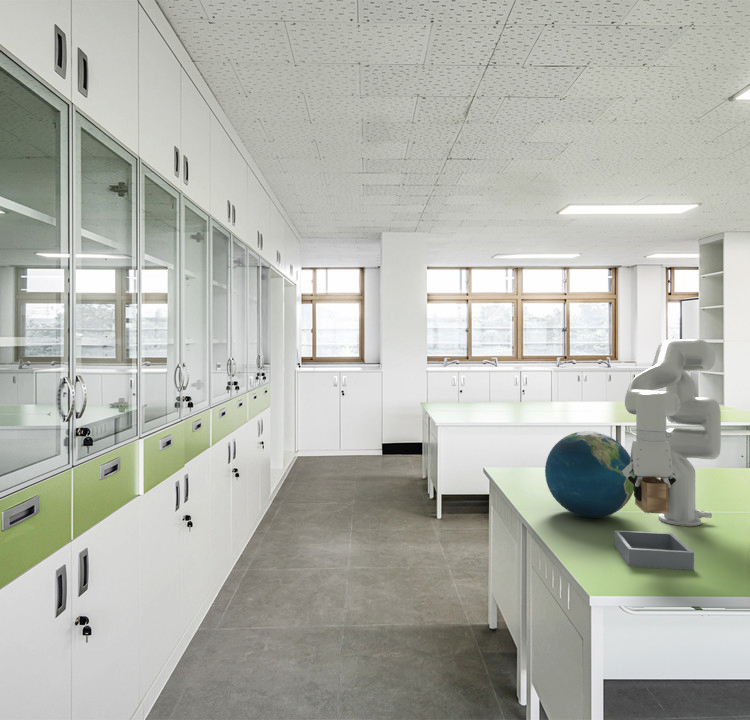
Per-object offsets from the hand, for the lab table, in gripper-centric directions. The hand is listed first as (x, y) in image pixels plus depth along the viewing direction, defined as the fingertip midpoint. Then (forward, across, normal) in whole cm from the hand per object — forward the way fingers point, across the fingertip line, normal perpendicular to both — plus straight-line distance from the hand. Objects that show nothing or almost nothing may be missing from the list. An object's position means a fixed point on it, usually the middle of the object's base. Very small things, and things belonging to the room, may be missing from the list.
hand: (651, 499), depth 151 cm
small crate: (+2, 0, 0) cm, 2 cm away
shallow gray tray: (+17, 0, 0) cm, 17 cm away
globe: (+16, +9, -38) cm, 42 cm away
